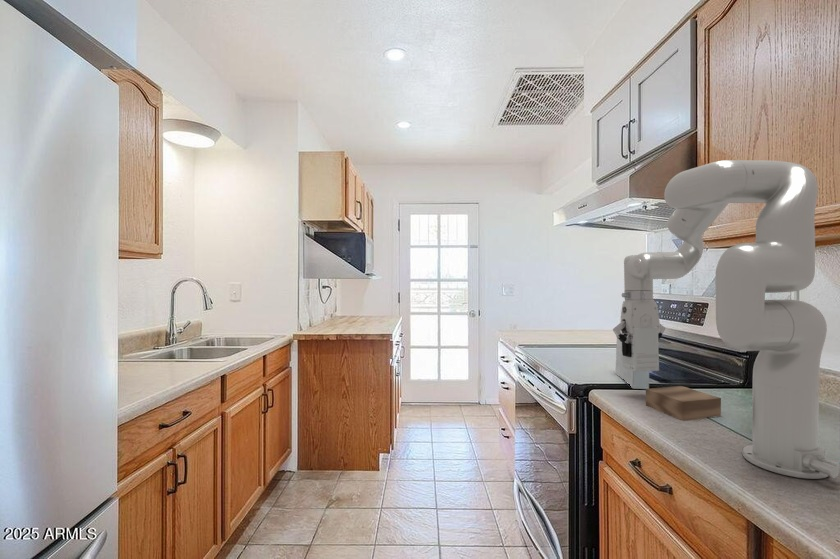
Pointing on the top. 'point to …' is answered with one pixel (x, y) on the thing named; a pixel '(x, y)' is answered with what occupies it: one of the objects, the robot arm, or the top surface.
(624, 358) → the supplement box
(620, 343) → the skincare box
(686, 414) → the walnut block
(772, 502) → the top surface
